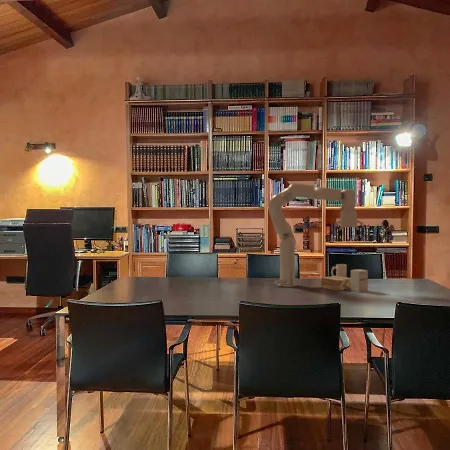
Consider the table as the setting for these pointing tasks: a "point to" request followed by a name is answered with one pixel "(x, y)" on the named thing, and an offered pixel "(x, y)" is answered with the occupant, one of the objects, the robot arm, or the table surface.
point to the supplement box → (359, 280)
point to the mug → (340, 270)
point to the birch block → (336, 282)
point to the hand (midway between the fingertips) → (349, 236)
